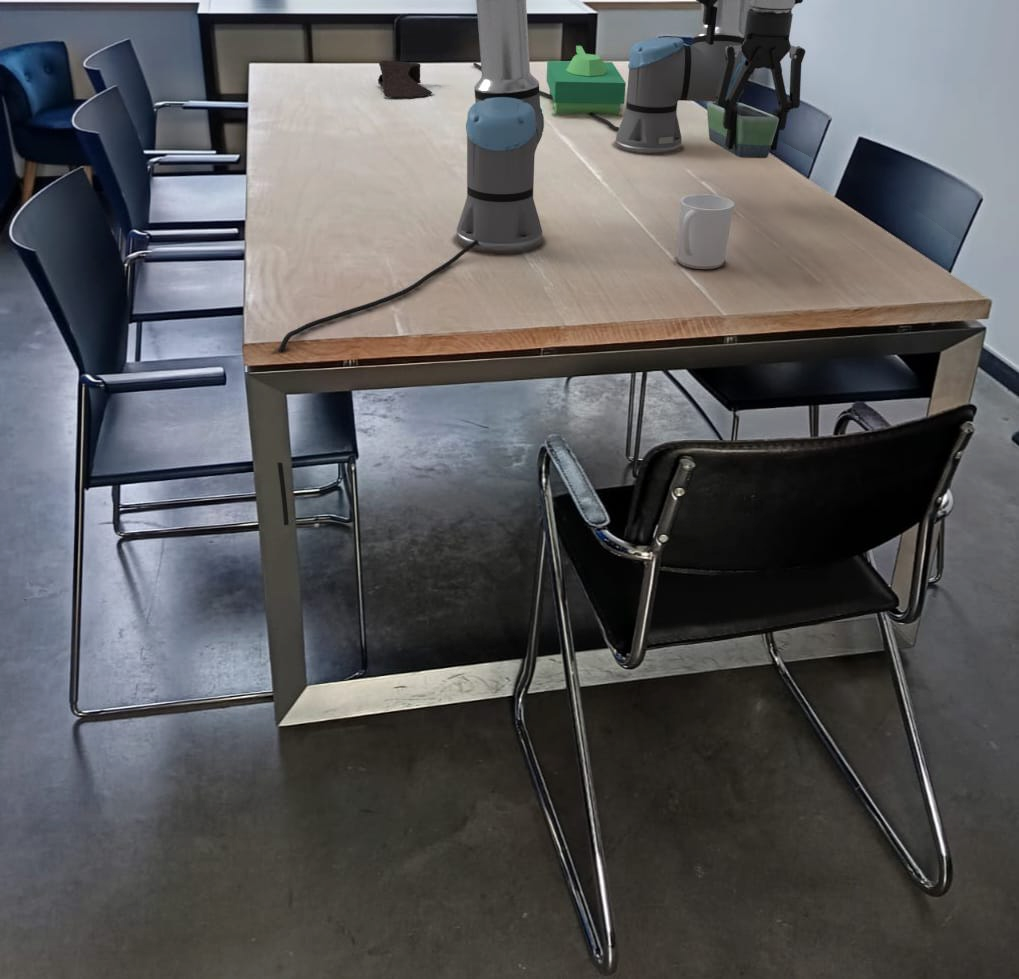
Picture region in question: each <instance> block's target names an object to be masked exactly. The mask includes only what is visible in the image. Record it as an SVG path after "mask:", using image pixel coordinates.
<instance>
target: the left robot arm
mask: <svg viewBox="0 0 1019 979" xmlns="http://www.w3.org/2000/svg"><path fill="white" fill-rule="evenodd" d="M475 1H476V2H475V3H476V14H477V15H476V16H477V28H478V42H479V56H480V66H481V69H480V70H481V77H480V78H479V80H478V81H477V82H476V84H475V85H474V102H475V103H473V104H472V105H471V106H470V107H469V109H468V111H467V117H466V118H467V119H466V122H465V131H466V192H467V193H466V198H465V202H464V205H463V209H462V211H461V214H460V218H459V220H458V224H457V227H456V241H457V243H458V244H459V245H461V246H462V247H464V248H463V249H462V250H460V251H459V252H458V253H456V255H454V256H452V258H450V259H449V260H448V261H446V262H444V263H443V264H442V265H440V266H439V267H437V268H435V269H433V270H432V271H430V272H429V273H427V274H426V275H425V276H423V277H422V278H420V279H419V280H417V281H416V282H414V283H413V284H411V285H409V286H407V287H406V288H404V289H402V290H400V291H398V292H395V293H392V294H390V295H387V296H385V297H383V298H380V299H376V300H374V301H371V302H368V303H365V304H362V305H359V306H355V307H353V308H349V309H346V310H343V311H340V312H337V313H333V314H331V315H327V316H325V317H322V318H319V319H316V320H313V321H310V322H308V323H305V324H304V325H301V326H300V327H298V328H296V329H293V330H290V331H289V332H288V333H286V335H285V336H284V338H283V339H282V341H281V343H280V346H279V348H278V351H277V352H278V353H284V351H285V349H286V346H287V345H288V342H289V341H290V340H291V338H292V337H294V336H296V335H298V334H301V333H302V332H305V331H306V330H308V329H311V328H314V327H315V326H316V327H317V326H318V325H321V324H325V323H327V322H331V321H333V320H337V319H339V318H343V317H345V316H348V315H352V314H355V313H359V312H362V311H364V310H367V309H371V308H373V307H376V306H380V305H382V304H384V303H387V302H389V301H393V300H395V299H397V298H399V297H401V296H404V295H406V294H408V293H410V292H411V291H413V290H415V289H416V288H418V287H420V286H421V285H422V284H423V283H425V282H426V281H428V280H429V279H430V278H432V277H433V276H435V275H437V274H439V273H440V272H441V271H443V270H445V269H446V268H447V267H449V266H451V265H452V264H454V263H455V262H456V261H458V260H459V259H460V258H461V257H462V256H464V255H465V254H466V253H467V252H469V251H475V252H479V253H486V254H497V255H499V254H500V255H506V254H507V255H508V254H517V253H524V252H527V251H530V250H533V249H536V248H538V247H539V246H540V245H541V244H542V243H543V229H542V224H541V221H540V220H541V219H540V218H539V214H538V213H539V212H538V210H537V206H536V204H535V199H534V184H535V181H534V180H535V158H536V156H535V155H536V152H537V151H536V150H537V147H538V145H539V143H540V142H541V139H542V137H543V132H544V126H545V118H544V117H545V116H544V113H543V109H542V108H541V95H540V93H539V90H540V82H539V80H538V79H537V78H536V77H535V76H534V75H533V74H532V73H531V66H530V48H529V31H528V30H529V29H528V11H527V10H528V8H527V0H475ZM794 4H795V0H748V5H749V7H751V8H749V9H748V10H747V12H746V19H745V20H746V21H745V26H744V34H743V36H744V38H743V40H742V41H741V43H740V44H736V45H729V44H727V45H726V46H725V47H724V51H725V61H724V65H723V69H722V73H721V77H720V81H719V86H718V90H717V94H716V98H715V101H714V102H716V104H717V105H718V106H720V107H723V108H724V117H723V127H724V128H725V129H727V136H726V143H725V146H726V147H727V148H728V149H733V143H734V136H735V128H736V121H737V114H738V111H737V110H736V109H735V108H734V107H735V105H736V103H738V101H739V99H740V98H741V96H742V94H743V92H744V90H745V87H746V85H747V83H748V81H749V79H750V78H751V76H752V74H753V73H754V72H755V70H756V69H758V70H759V69H763V68H765V69H768V70H770V72H771V77H772V81H773V86H774V90H775V95H776V100H777V105H778V108H773V111H772V112H773V113H772V115H774V116H776V117H778V118H779V122H778V126H777V129H776V132H775V136H774V139H773V142H772V145H771V148H770V151H777V148H778V141H779V134H780V131H784V130H785V128H786V124H787V118H788V113H790V111H791V110H793V109H799V107H800V105H801V84H802V83H801V82H802V63H803V60H804V58H805V56H806V49H805V48H803V47H802V46H800V45H798V46H795V45H792V44H791V42H790V35H791V30H792V29H791V28H792V22H793V16H794V15H793V13H792V11H791V12H790V9H794V8H795V6H794ZM795 5H796V4H795ZM740 51H742V52H743V54H744V56H745V58H746V60H745V62H744V64H743V66H742V70H741V72H740V74H739V76H738V78H737V80H736V82H735V84H734V86H733V88H732V90H731V92H730V94H729V96H728V98H727V100H726V96H727V92H728V88H729V84H730V80H731V76H732V72H733V68H734V64H735V58H737V57H738V55H739V52H740ZM788 53H789V58H790V71H789V78H790V79H789V97H788V95H787V91H786V85H785V81H784V77H783V68H782V63H781V62H782V61H783V59H784V58H785V57H786V55H787V54H788ZM743 89H744V90H743ZM742 91H743V92H742ZM741 93H742V94H741ZM740 95H741V96H740ZM788 98H789V100H788ZM283 466H284V465H283V462H277V470H278V480H279V488H280V494H281V495H280V496H281V505H282V506H281V507H282V516H283V525H284V526H289V524H290V523H289V522H290V520H289V511H288V510H289V509H288V500H287V490H286V483H285V473H284V467H283Z"/></svg>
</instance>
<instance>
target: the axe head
mask: <svg viewBox="0 0 1019 979" xmlns="http://www.w3.org/2000/svg"><path fill="white" fill-rule="evenodd" d="M378 66H379V68H380V72H381V74H379V75H378V79H377V84H378V85H379V86H380V87H381V88H382V89H383V95H384V96H385V97H388V98H394V99H395V98H396V99H403V98H405V99H406V98H407V99H411V98H418V97H425V96H429V95H432V94H433V91H431V90H430V89H428V88H427V87H425V86H422V85H421V84H422V82H421V63H419V62H410V61H408V62H407V61H397V60H388V59H387V60H380V61H379V62H378Z"/></svg>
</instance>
